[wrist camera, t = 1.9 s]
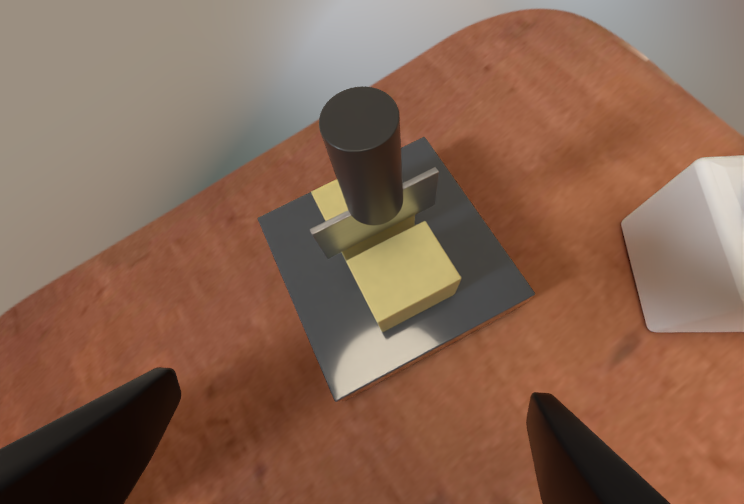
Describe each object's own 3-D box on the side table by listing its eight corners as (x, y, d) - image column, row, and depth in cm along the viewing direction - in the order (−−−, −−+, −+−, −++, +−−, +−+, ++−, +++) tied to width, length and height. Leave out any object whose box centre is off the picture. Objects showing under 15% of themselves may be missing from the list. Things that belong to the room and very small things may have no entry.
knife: (445, 221, 18) (469, 101, 11) (336, 277, 18) (280, 193, 10) (421, 184, 19) (427, 50, 11) (316, 237, 18) (252, 132, 11)
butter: (455, 294, 20) (462, 278, 17) (382, 332, 20) (377, 323, 17) (387, 184, 23) (384, 155, 20) (323, 216, 23) (310, 191, 20)
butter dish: (521, 306, 22) (536, 294, 20) (345, 401, 21) (334, 402, 19) (423, 162, 27) (424, 135, 24) (273, 236, 26) (256, 217, 23)
